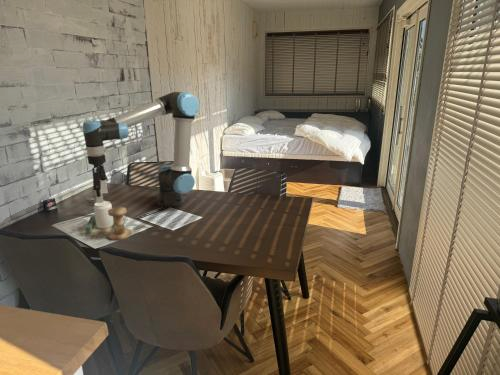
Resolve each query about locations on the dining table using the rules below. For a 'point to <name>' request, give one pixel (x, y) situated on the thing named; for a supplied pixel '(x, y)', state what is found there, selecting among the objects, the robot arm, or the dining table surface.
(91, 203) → the mechanical component
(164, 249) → the dining table surface
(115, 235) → the bobbin
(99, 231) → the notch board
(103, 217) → the beverage can
